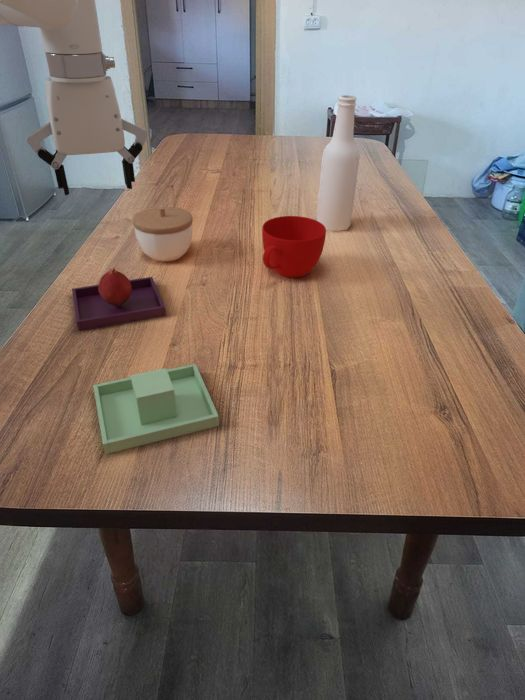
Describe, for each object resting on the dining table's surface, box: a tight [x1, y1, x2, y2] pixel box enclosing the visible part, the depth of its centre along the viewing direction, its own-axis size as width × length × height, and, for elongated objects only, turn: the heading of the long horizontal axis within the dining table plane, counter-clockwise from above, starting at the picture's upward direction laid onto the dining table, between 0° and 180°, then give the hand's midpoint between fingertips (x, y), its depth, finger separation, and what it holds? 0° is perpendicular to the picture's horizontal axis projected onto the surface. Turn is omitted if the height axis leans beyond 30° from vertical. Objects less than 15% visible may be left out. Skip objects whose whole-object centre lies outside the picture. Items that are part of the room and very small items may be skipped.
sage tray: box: [92, 363, 220, 455], centre depth 69 cm, size 15×12×2 cm
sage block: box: [130, 367, 177, 425], centre depth 68 cm, size 5×5×5 cm
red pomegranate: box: [98, 266, 132, 307], centre depth 89 cm, size 6×6×8 cm
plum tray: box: [71, 276, 167, 332], centre depth 91 cm, size 15×12×2 cm
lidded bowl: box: [132, 206, 194, 263], centre depth 107 cm, size 13×13×11 cm
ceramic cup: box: [261, 215, 327, 279], centre depth 101 cm, size 13×17×10 cm
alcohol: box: [315, 94, 360, 232], centre depth 117 cm, size 9×9×30 cm
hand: (98, 189), depth 79 cm, fingers open, 9 cm apart
